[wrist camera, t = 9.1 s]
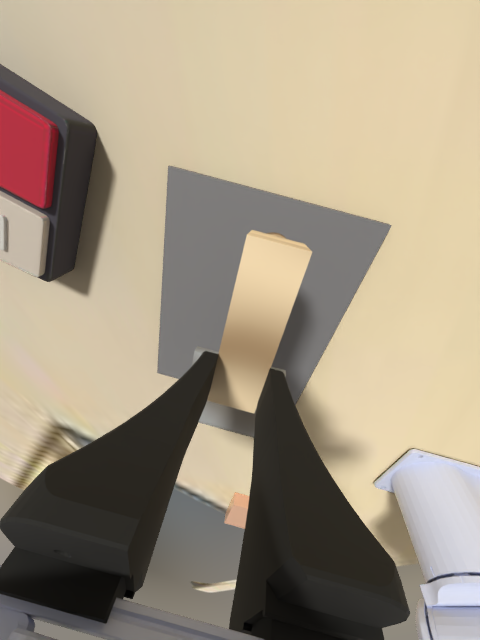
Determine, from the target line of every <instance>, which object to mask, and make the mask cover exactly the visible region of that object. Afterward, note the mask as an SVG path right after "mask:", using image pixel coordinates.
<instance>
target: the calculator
mask: <svg viewBox="0 0 480 640" xmlns="http://www.w3.org/2000/svg"><path fill="white" fill-rule="evenodd" d="M96 138H97V130H96V128H95V126H94V125H93V124H92V123H91V122H90V121H89V120H87V119H85V118H84V117H82V116H81V115H79V114H78V113H76V112H75V111H73V110H71V109H70V108H68V107H67V106H65V105H64V104H62V103H61V102H59V101H57V100H56V99H54V98H53V97H51V96H50V95H48V94H47V93H45V92H43V91H42V90H40V89H39V88H37V87H36V86H34V85H32V84H31V83H29V82H28V81H26V80H25V79H23V78H21V77H20V76H18V75H17V74H15V73H14V72H12V71H10V70H9V69H7V68H6V67H4V66H3V65H1V64H0V260H1V261H3V262H5V263H7V264H9V265H11V266H13V267H15V268H18V269H20V270H22V271H24V272H26V273H28V274H30V275H32V276H34V277H38V278H40V279H42V280H44V281H47V282H50V281H53V280H54V279H56V278H58V277H60V276H62V275H64V274H66V273H67V272H69V271H71V270H73V269H74V265H75V260H76V254H77V248H78V242H79V237H80V231H81V225H82V219H83V213H84V208H85V202H86V196H87V190H88V185H89V179H90V173H91V167H92V161H93V156H94V150H95V144H96Z"/></svg>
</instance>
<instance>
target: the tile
mask: <svg viewBox="0 0 480 640" xmlns="http://www.w3.org/2000/svg"><path fill="white" fill-rule="evenodd" d="M248 504H249V496H246V495H243V494H239V493H236V492H235V494H234V496H233V498H232V500H231V502H230V504H229V506H228V509H227V511H226V516H225V522H224V523H226V524H230V525H234V526H237V527H241V528H244V529H245V525H246V518H247V511H248Z"/></svg>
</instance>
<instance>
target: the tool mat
mask: <svg viewBox="0 0 480 640" xmlns="http://www.w3.org/2000/svg"><path fill="white" fill-rule="evenodd" d="M390 228H391V225H389V224H386V223H383V222H379V221H375V220H371V219H368V218H364V217H360V216H356V215H353V214H349V213H345V212H342V211H338V210H334V209H330V208H327V207H323V206H319V205H315V204H312V203H308V202H304V201H300V200H297V199H293V198H289V197H285V196H282V195H278V194H274V193H270V192H267V191H263V190H259V189H256V188H252V187H248V186H244V185H241V184H237V183H233V182H229V181H226V180H222V179H218V178H214V177H211V176H207V175H203V174H199V173H196V172H192V171H188V170H185V169H181V168H177V167H173V166H168V181H167V200H166V219H165V238H164V257H163V276H162V295H161V314H160V333H159V352H158V371H157V373H159V374H163V375H166V376H170V377H174V378H177V379H180V378H181V377H182V376H183V375H184V374H185V373H186V372H187V371H188V370H189V369H190V368H191V367H192V362H193V357H194V351H195V349H196V347H197V346H198V347H202V348H206V349H209V350H213V351H217V352H219V349H220V345H221V341H222V337H223V333H224V328H225V324H226V320H227V316H228V312H229V307H230V303H231V299H232V295H233V291H234V286H235V282H236V278H237V274H238V270H239V265H240V261H241V257H242V253H243V249H244V244H245V240H246V236H247V234H248V233H249V232H250V231H251V230H255V231H259V232H262V233H266V234H267V233H271V232H275V233H279V234H281V235H283V236H284V237H285V238H286V239H289V240H292V241H296V242H300V243H304V244H305V245H306V246H307V247H308V248H309V249H310V250H311V251H312V255H311V257H310V260H309V263H308V266H307V269H306V271H305V274H304V277H303V280H302V282H301V285H300V288H299V291H298V294H297V296H296V299H295V302H294V305H293V307H292V310H291V313H290V316H289V319H288V321H287V324H286V327H285V330H284V332H283V335H282V338H281V341H280V344H279V346H278V349H277V352H276V355H275V357H274V360H273V363H272V366H271V367H275V368H279V369H282V370H286V377H285V378H286V381H287V384H288V387H289V390H290V393H291V396H292V399H293V401H294V404H296V403H297V401H298V399H299V397H300V395H301V393H302V391H303V390H304V388H305V386H306V384H307V382H308V380H309V378H310V377H311V375H312V373H313V371H314V369H315V367H316V365H317V364H318V362H319V360H320V358H321V356H322V354H323V352H324V350H325V349H326V347H327V345H328V343H329V341H330V339H331V337H332V336H333V334H334V332H335V330H336V328H337V326H338V324H339V323H340V321H341V319H342V317H343V315H344V313H345V311H346V310H347V308H348V306H349V304H350V302H351V300H352V298H353V296H354V295H355V293H356V291H357V289H358V287H359V285H360V283H361V282H362V280H363V278H364V276H365V274H366V272H367V270H368V269H369V267H370V265H371V263H372V261H373V259H374V257H375V256H376V254H377V252H378V250H379V248H380V246H381V244H382V242H383V241H384V239H385V237H386V235H387V233H388V231H389V229H390Z"/></svg>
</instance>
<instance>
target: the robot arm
mask: <svg viewBox="0 0 480 640" xmlns="http://www.w3.org/2000/svg"><path fill="white" fill-rule="evenodd" d="M218 355H219V354H216V353H212V352H208V351H204V352H203V353H202V355H201V356H200V357H199V358H198V360H197V361H196V362H195V363H194V364H193V365H192V367H191V368H190V369H189V370H188V371H187V372H186V373H185V374H184V375H183V376H182V377H181V378H180V379H179V380H178V381H177V382H176V383H175V384H174V385H172V386H171V387H170V388H169V389H168V390H167V391H166V392H165V393H163V394H162V395H161V396H160V397H159V398H157V399H156V400H155V401H154V402H152V403H151V404H150V405H149V406H147V407H146V408H145V409H143V410H142V411H140V412H139V413H138V414H136V415H135V416H133V417H132V418H130V419H129V420H128V421H126V422H125V423H123V424H122V425H120V426H118V427H117V428H115V429H114V430H112V431H110V432H109V433H107V434H105V435H103V436H102V437H100V438H98V439H97V440H95V441H93V442H92V443H90V444H88V445H86V446H85V447H83V448H81V449H79V450H77V451H75V452H73V453H71V454H69V455H67V456H65V457H64V458H62V459H60V460H58V461H56V462H54V463H52V464H50V465H48V466H47V467H46V468H45V469H44V470H43V471H42V472H41V473H40V474H39V475H38V476H37V477H36V478H35V479H34V480H33V482H32V483H31V484H30V485H29V486H28V487H27V488H26V489H25V490H24V491H23V493H22V494H21V495H20V497H19V498H18V499H17V500H16V501H15V503H14V504H13V505H12V506H11V508H10V509H9V510H8V511H7V513H6V514H5V515H4V516H3V517H2V519H1V521H0V529H1V531H2V532H3V533H4V534H5V535H6V537H7V538H8V539H9V540H10V541H11V543H13V545H14V546H15V548H14V549H13V550H12V552H11V553H10V555H9V556H8V558H7V559H6V560H5V562H4V563H3V564H2V565H0V640H57V639H53V638H50V637H47V636H44V635H41V634H38V633H35V632H34V628H35V623H34V620H33V619H37V620H40V621H44V622H47V623H50V624H54V625H58V626H61V627H65V628H68V629H72V630H76V631H79V632H82V633H86V634H89V635H93V636H96V637H100V638H103V639H107V640H384V636H383V632H382V628H383V627H387V626H391V625H395V624H398V623H401V622H403V621H406V620H407V618H408V616H409V614H410V611H409V608H408V604H407V601H406V597H405V593H404V590H403V586H402V583H401V580H400V577H399V574H398V571H397V569H396V566H395V563H394V561H393V560H392V558H391V557H390V556H389V555H388V553H387V552H386V551H385V550H384V548H383V547H382V546H381V545H380V543H379V542H378V541H377V539H376V538H375V537H374V536H373V534H372V533H371V532H370V531H369V529H368V528H367V527H366V526H365V524H364V523H363V522H362V520H361V519H360V518H359V516H358V515H357V513H356V512H355V511H354V509H353V508H352V507H351V505H350V504H349V502H348V501H347V499H346V498H345V496H344V495H343V493H342V492H341V490H340V489H339V487H338V486H337V484H336V483H335V481H334V480H333V478H332V477H331V475H330V473H329V472H328V470H327V468H326V467H325V465H324V463H323V462H322V460H321V458H320V456H319V455H318V453H317V451H316V449H315V447H314V445H313V444H312V442H311V440H310V438H309V436H308V434H307V431H306V429H305V427H304V425H303V423H302V421H301V418H300V416H299V414H298V411H297V409H296V406H295V404H294V401H293V399H292V396H291V393H290V390H289V387H288V384H287V381H286V378H285V374H284V373H283V372H282V371H279V370H275V369H271V368H270V369H269V372H268V375H267V378H266V381H265V383H264V386H263V389H262V392H261V395H260V397H259V400H258V403H257V409H256V416H255V430H254V451H253V471H252V482H251V489H250V496H249V504H248V511H247V518H246V525H245V532H244V538H243V544H242V551H241V557H240V564H239V570H238V576H237V582H236V588H235V594H234V600H233V606H232V612H231V617H230V626H229V629H226V628H223V627H219V626H216V625H212V624H209V623H205V622H202V621H198V620H194V619H191V618H187V617H184V616H180V615H176V614H173V613H170V612H166V611H162V610H159V609H155V608H152V607H148V606H145V605H141V604H138V603H134V602H130V601H127V600H123V597H126V598H130V599H133V596H134V594H135V592H136V591H137V590H139V589H140V588H141V587H142V586H143V582H144V579H145V576H146V573H147V570H148V566H149V563H150V560H151V557H152V554H153V550H154V547H155V544H156V541H157V538H158V535H159V532H160V528H161V525H162V522H163V519H164V516H165V513H166V510H167V506H168V503H169V500H170V497H171V494H172V491H173V488H174V485H175V482H176V479H177V476H178V473H179V470H180V467H181V464H182V461H183V458H184V455H185V453H186V450H187V448H188V445H189V443H190V441H191V438H192V436H193V434H194V431H195V429H196V427H197V424H198V422H199V419H200V417H201V415H202V412H203V410H204V408H205V405H206V402H207V399H208V396H209V392H210V389H211V385H212V381H213V376H214V372H215V368H216V364H217V360H218ZM374 485H375V487H376V488H379V489H382V490H386V491H389V492H393V493H395V496H396V498H397V501H398V504H399V507H400V510H401V513H402V516H403V519H404V521H405V524H406V527H407V530H408V533H409V536H410V539H411V542H412V545H413V547H414V550H415V553H416V556H417V559H418V562H419V565H420V568H421V571H422V573H423V576H424V579H425V582H426V584H420V588H421V592H422V594H423V598H420V599H419V600H418V603H417V609H416V627H417V632H418V637H419V640H480V467H478V466H475V465H471V464H467V463H464V462H460V461H457V460H453V459H449V458H446V457H442V456H439V455H435V454H431V453H428V452H424V451H420V450H417V449H411V450H409V451H408V452H407V453H406V454H405V455H404V456H403V457H402V458H400V459H399V460H398V461H397V462H396V463H395V464H394V465H393V466H392V467H391V468H389V469H388V470H387V471H386V472H385V473H384V474H383V475H382V476H381V477H379V478H378V479H377V480H376V481H375V482H374ZM32 618H33V619H32Z"/></svg>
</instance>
